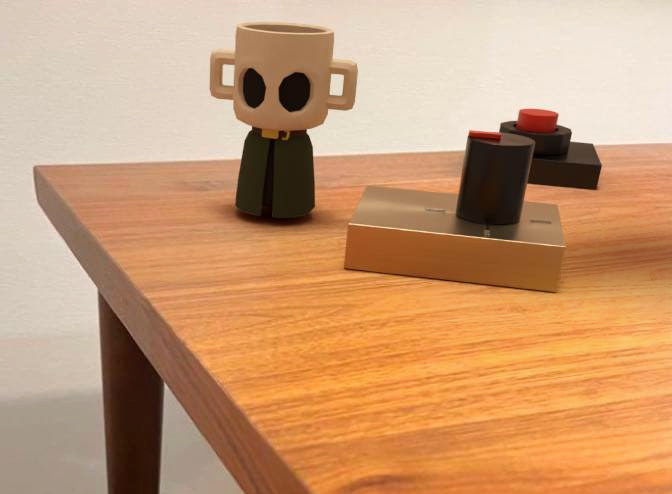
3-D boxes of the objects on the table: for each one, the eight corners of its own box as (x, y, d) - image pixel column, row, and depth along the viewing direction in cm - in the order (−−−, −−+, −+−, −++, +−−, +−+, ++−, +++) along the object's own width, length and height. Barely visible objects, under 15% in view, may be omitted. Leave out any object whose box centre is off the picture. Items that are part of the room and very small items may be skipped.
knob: (519, 210, 68) (535, 130, 65) (520, 227, 65) (537, 143, 62) (456, 204, 69) (469, 124, 66) (454, 220, 65) (467, 137, 62)
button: (553, 130, 92) (557, 110, 91) (555, 137, 89) (559, 117, 88) (515, 127, 92) (518, 107, 91) (515, 134, 89) (519, 113, 88)
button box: (587, 167, 96) (597, 123, 94) (596, 190, 87) (607, 143, 85) (465, 155, 97) (472, 112, 95) (462, 177, 89) (469, 131, 87)
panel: (548, 245, 72) (558, 201, 70) (556, 292, 63) (567, 244, 61) (362, 225, 74) (367, 182, 72) (343, 268, 65) (348, 221, 63)
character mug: (194, 218, 74) (197, 25, 66) (218, 196, 79) (223, 17, 72) (336, 234, 72) (354, 38, 65) (349, 210, 78) (368, 28, 71)
